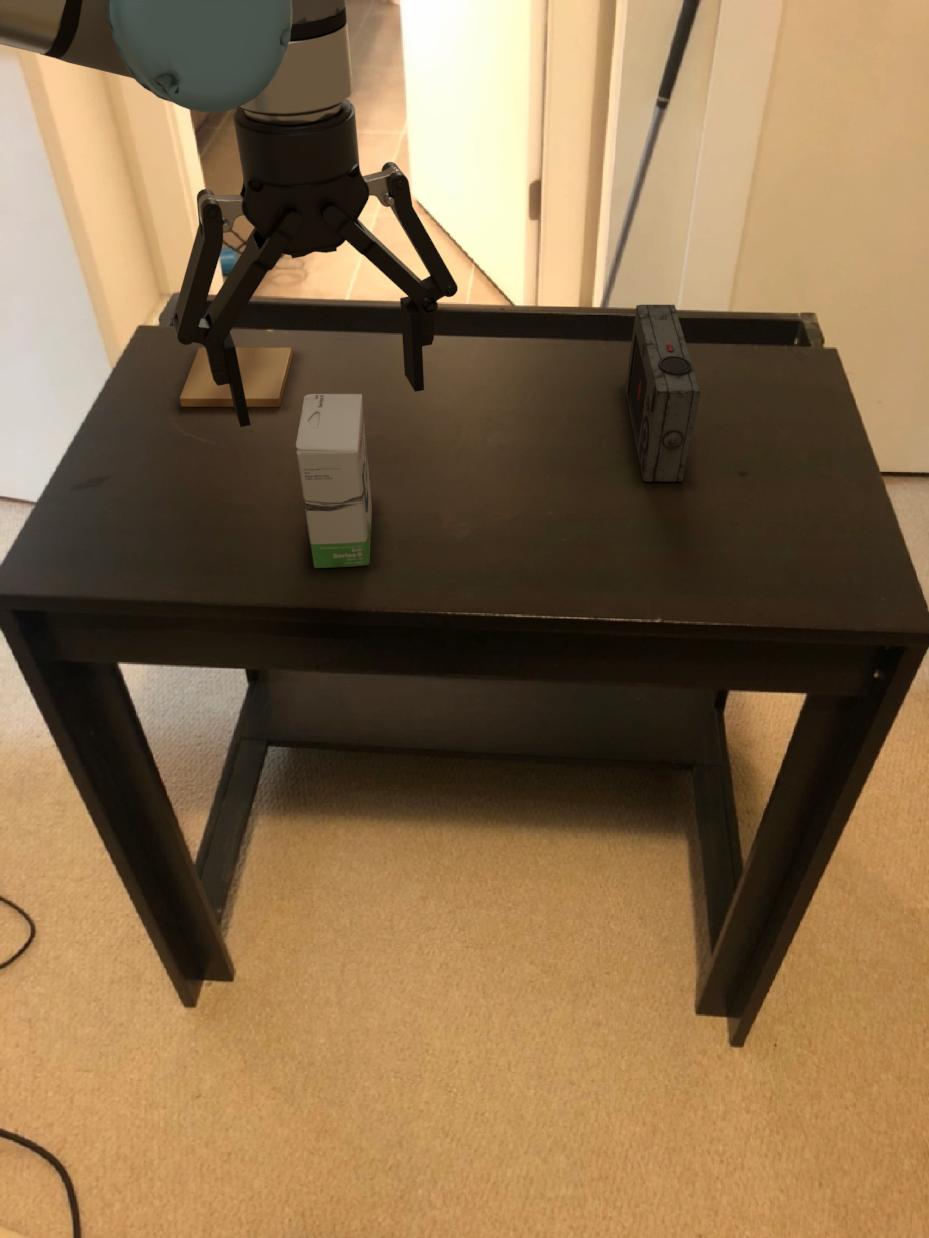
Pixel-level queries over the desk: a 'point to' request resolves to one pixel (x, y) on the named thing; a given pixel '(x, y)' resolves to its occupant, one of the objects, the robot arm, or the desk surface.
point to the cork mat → (258, 374)
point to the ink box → (335, 479)
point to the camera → (661, 393)
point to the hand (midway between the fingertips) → (330, 399)
